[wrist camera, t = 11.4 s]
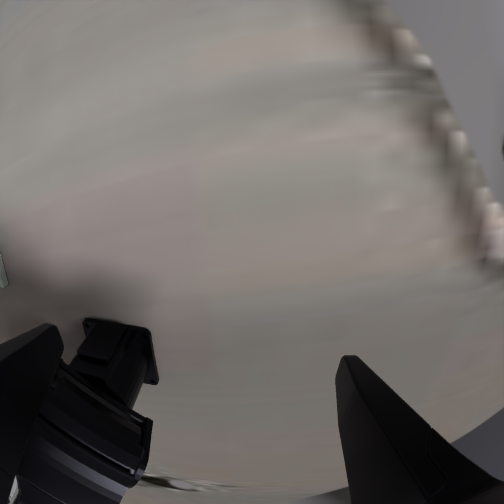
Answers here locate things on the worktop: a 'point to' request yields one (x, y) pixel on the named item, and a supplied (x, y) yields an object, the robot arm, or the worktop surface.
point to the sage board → (2, 275)
